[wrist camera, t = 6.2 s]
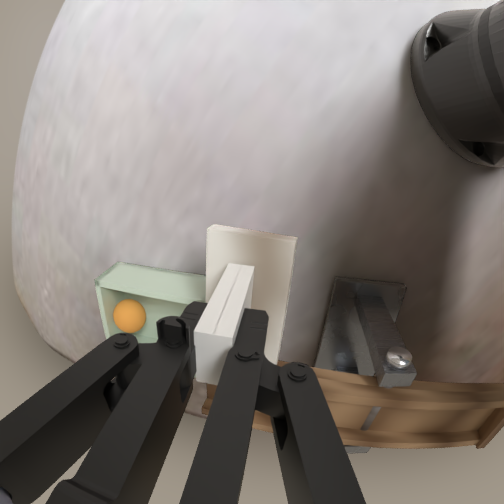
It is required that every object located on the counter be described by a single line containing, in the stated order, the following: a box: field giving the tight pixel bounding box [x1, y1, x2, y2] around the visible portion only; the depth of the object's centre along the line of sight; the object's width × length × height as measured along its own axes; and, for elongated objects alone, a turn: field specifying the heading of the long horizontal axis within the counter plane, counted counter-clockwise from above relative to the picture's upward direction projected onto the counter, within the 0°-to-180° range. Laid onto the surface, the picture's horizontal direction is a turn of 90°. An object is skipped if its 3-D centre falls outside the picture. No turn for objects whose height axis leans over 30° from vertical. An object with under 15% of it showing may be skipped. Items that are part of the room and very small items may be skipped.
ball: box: [113, 299, 146, 333], centre depth 27 cm, size 4×4×4 cm
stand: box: [313, 276, 417, 454], centre depth 22 cm, size 7×12×11 cm, turn 176°
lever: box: [202, 224, 504, 449], centre depth 16 cm, size 26×15×3 cm, turn 86°
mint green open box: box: [94, 262, 206, 378], centre depth 27 cm, size 11×9×4 cm
